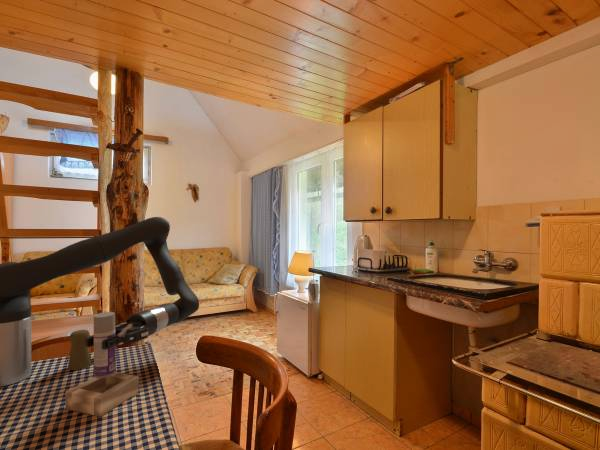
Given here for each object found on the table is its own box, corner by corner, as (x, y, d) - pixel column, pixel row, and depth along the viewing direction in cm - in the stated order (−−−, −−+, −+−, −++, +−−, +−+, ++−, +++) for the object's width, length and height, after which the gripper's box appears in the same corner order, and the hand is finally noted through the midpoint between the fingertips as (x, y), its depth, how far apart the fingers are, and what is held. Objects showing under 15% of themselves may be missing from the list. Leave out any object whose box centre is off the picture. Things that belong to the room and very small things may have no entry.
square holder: (65, 408, 73) (65, 391, 73) (106, 385, 83) (106, 370, 83) (100, 416, 70) (100, 399, 70) (138, 391, 80) (138, 376, 80)
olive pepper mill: (78, 371, 91) (78, 334, 92) (62, 369, 93) (62, 333, 93) (96, 362, 97) (96, 328, 97) (80, 361, 99) (80, 327, 99)
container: (111, 367, 80) (110, 310, 80) (119, 372, 77) (118, 313, 77) (90, 374, 76) (90, 315, 76) (98, 380, 74) (98, 318, 74)
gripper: (128, 307, 93) (72, 326, 76) (168, 311, 88) (117, 332, 72) (129, 332, 93) (73, 356, 76) (168, 337, 89) (117, 363, 72)
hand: (95, 344), depth 74 cm, fingers closed on container, 4 cm apart
